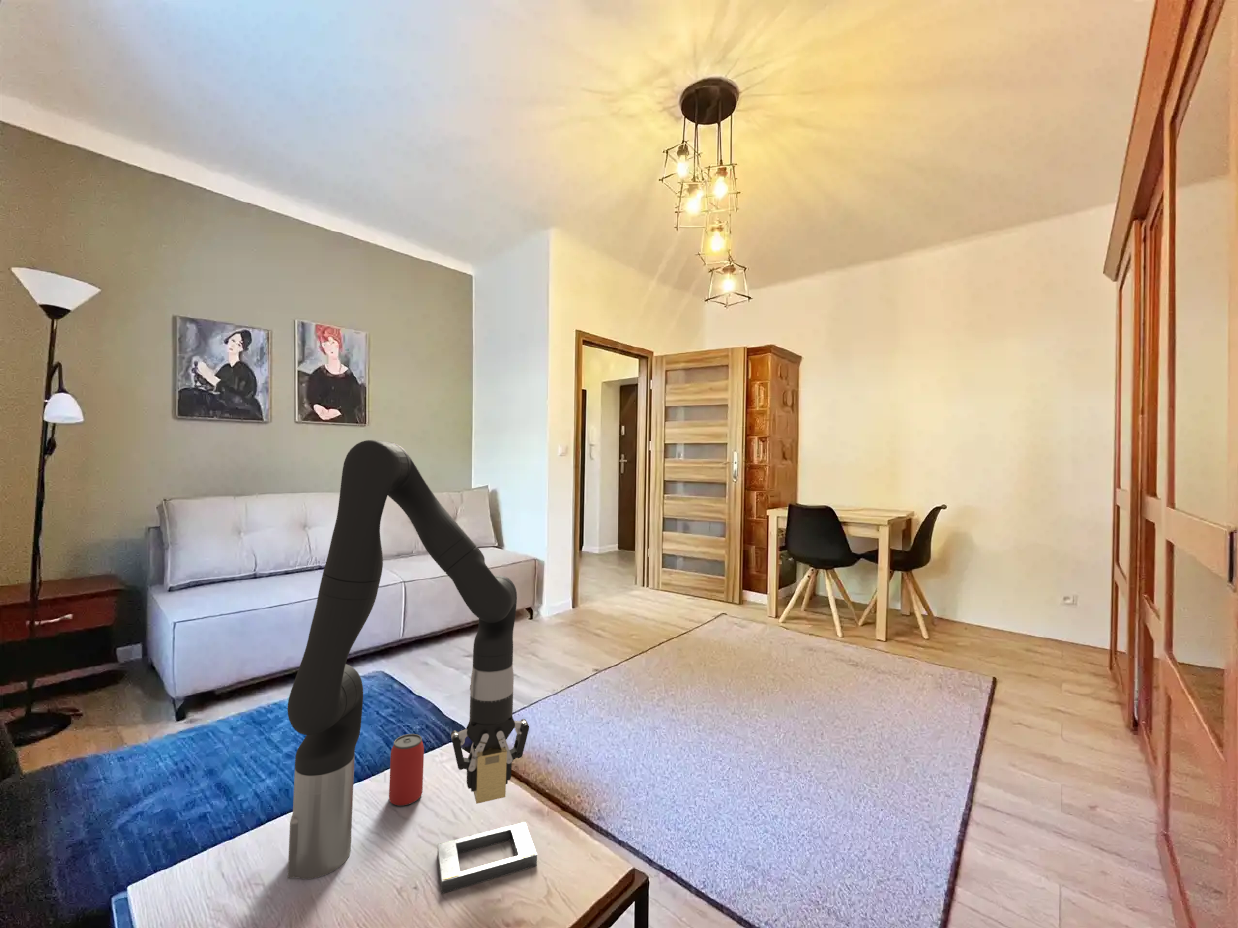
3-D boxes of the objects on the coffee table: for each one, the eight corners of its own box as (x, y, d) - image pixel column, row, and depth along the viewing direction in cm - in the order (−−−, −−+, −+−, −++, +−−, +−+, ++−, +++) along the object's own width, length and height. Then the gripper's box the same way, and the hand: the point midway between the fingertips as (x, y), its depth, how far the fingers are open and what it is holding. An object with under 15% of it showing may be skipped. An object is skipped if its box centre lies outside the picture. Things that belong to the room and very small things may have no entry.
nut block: (476, 803, 87) (477, 756, 87) (472, 786, 92) (473, 742, 92) (505, 797, 89) (506, 751, 89) (500, 780, 94) (501, 737, 94)
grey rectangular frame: (441, 893, 83) (441, 880, 83) (437, 855, 91) (437, 843, 91) (536, 865, 89) (537, 853, 89) (524, 832, 97) (525, 821, 98)
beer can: (418, 784, 111) (420, 729, 112) (425, 800, 106) (427, 742, 106) (386, 794, 108) (388, 737, 108) (391, 811, 102) (394, 751, 103)
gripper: (452, 705, 84) (449, 807, 84) (536, 692, 90) (533, 788, 90) (448, 687, 91) (445, 782, 91) (526, 676, 97) (523, 765, 97)
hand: (489, 784), depth 90 cm, fingers closed on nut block, 5 cm apart
